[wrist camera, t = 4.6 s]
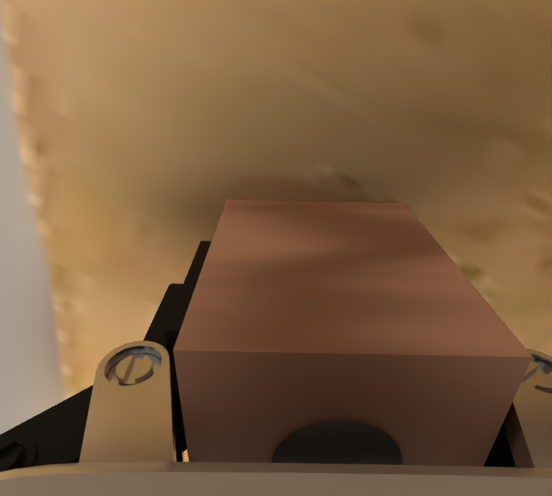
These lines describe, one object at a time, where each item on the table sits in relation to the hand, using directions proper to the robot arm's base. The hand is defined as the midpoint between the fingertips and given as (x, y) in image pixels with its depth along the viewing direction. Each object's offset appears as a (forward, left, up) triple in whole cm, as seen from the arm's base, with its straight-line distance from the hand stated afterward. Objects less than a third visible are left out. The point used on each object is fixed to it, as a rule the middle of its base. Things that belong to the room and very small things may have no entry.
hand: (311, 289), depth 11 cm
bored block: (0, 0, -1) cm, 1 cm away
